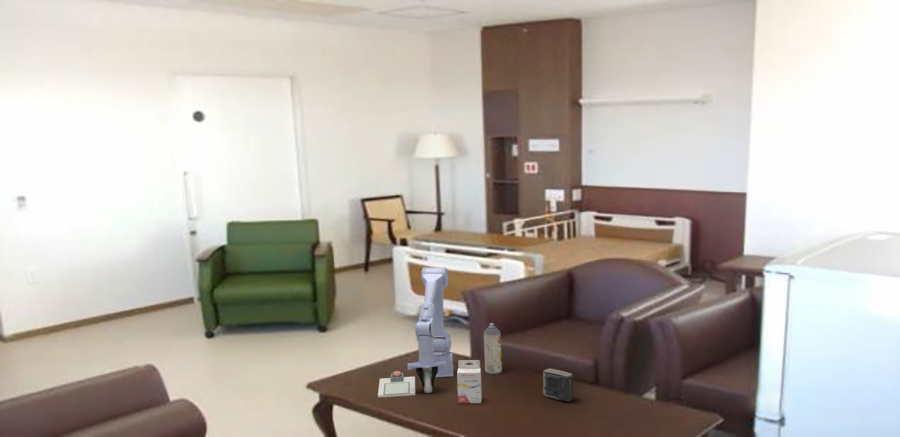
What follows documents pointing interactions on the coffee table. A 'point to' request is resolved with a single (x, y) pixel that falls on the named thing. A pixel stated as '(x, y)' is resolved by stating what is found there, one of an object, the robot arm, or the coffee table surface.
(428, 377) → the marker
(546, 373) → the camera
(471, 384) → the ink cartridge box
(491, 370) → the aerosol can
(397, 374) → the button
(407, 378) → the activity board
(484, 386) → the coffee table surface
